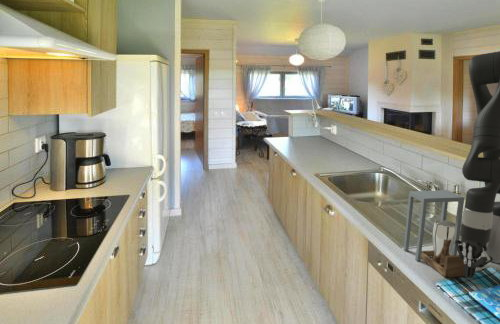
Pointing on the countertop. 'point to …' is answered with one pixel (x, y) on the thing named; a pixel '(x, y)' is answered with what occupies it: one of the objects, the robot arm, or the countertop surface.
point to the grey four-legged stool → (425, 198)
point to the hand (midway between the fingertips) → (468, 276)
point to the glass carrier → (446, 264)
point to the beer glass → (443, 240)
